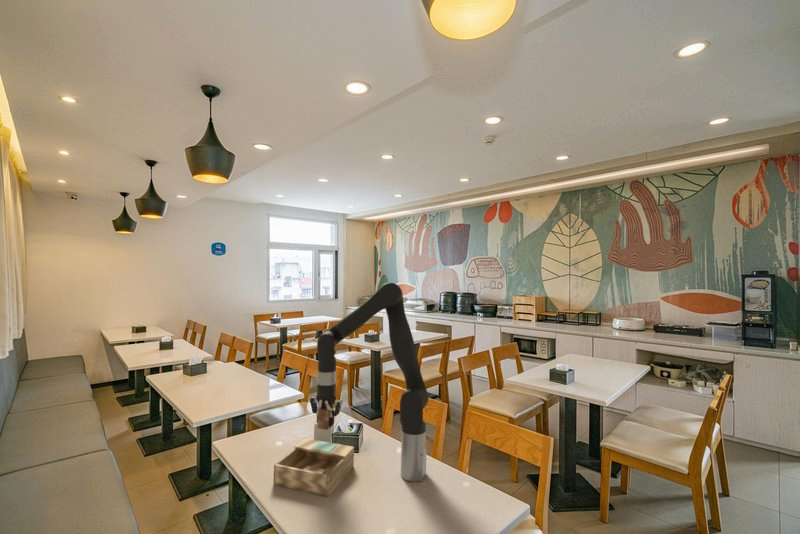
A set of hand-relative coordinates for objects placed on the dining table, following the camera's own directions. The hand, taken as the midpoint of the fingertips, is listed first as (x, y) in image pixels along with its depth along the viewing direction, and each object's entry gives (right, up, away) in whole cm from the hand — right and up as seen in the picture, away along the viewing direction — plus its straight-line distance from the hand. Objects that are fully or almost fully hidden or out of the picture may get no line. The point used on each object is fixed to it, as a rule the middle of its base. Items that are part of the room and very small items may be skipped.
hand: (325, 424), depth 143 cm
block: (0, -1, 0) cm, 1 cm away
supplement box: (-4, -17, +13) cm, 22 cm away
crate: (-2, -16, -7) cm, 18 cm away
